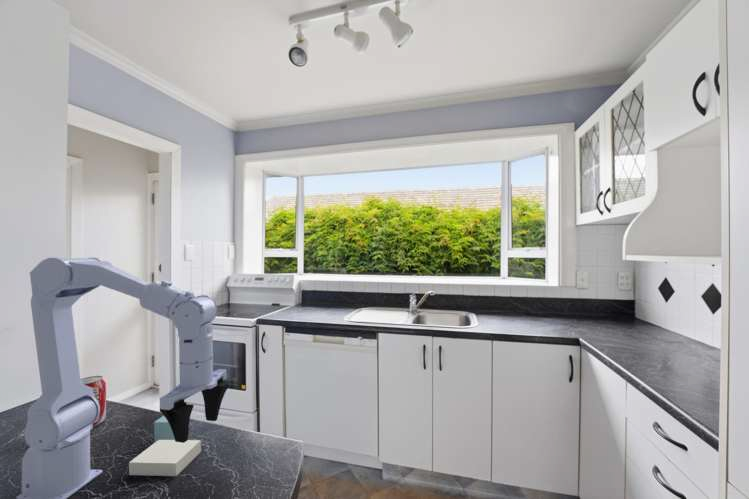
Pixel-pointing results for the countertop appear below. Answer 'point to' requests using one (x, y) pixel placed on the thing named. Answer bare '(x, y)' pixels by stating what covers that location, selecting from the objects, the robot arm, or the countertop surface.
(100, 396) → the soda can
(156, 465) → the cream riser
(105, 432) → the countertop surface
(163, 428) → the teal cube
